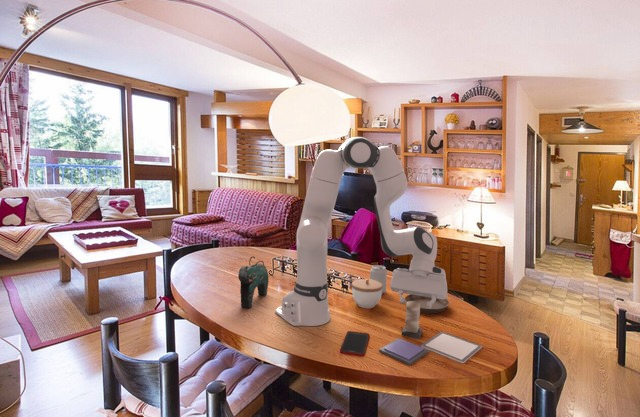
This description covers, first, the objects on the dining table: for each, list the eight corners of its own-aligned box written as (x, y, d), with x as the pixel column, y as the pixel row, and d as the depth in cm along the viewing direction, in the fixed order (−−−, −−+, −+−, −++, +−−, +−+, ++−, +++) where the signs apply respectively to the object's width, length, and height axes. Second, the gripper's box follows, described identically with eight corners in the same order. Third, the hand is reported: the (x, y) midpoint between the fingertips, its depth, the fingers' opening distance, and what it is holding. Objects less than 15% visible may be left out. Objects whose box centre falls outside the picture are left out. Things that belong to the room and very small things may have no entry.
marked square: (420, 346, 120) (421, 344, 120) (441, 333, 130) (441, 331, 130) (463, 363, 111) (463, 361, 111) (481, 347, 120) (482, 345, 120)
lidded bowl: (360, 312, 147) (361, 285, 145) (346, 301, 158) (346, 276, 157) (387, 308, 152) (388, 282, 150) (371, 297, 163) (372, 273, 162)
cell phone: (369, 336, 128) (369, 333, 128) (363, 357, 114) (364, 354, 114) (347, 333, 130) (347, 330, 130) (339, 354, 116) (339, 351, 116)
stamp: (401, 335, 128) (402, 304, 127) (405, 328, 134) (406, 299, 132) (419, 339, 126) (420, 308, 124) (422, 331, 131) (423, 302, 130)
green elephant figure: (248, 311, 147) (248, 262, 144) (234, 309, 149) (233, 260, 146) (271, 294, 165) (271, 250, 163) (258, 292, 167) (257, 249, 165)
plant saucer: (399, 310, 150) (399, 303, 150) (410, 296, 166) (410, 289, 166) (444, 319, 142) (445, 311, 142) (451, 304, 158) (452, 297, 157)
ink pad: (379, 351, 117) (379, 347, 117) (398, 340, 125) (398, 336, 124) (409, 365, 109) (409, 361, 109) (428, 352, 117) (428, 348, 117)
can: (387, 295, 166) (388, 269, 165) (370, 294, 167) (371, 268, 165) (384, 289, 174) (385, 264, 172) (368, 289, 174) (369, 264, 172)
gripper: (392, 263, 141) (384, 296, 134) (449, 270, 133) (444, 306, 125) (395, 271, 146) (387, 304, 138) (449, 279, 137) (445, 314, 130)
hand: (415, 305), depth 131 cm, fingers open, 8 cm apart
